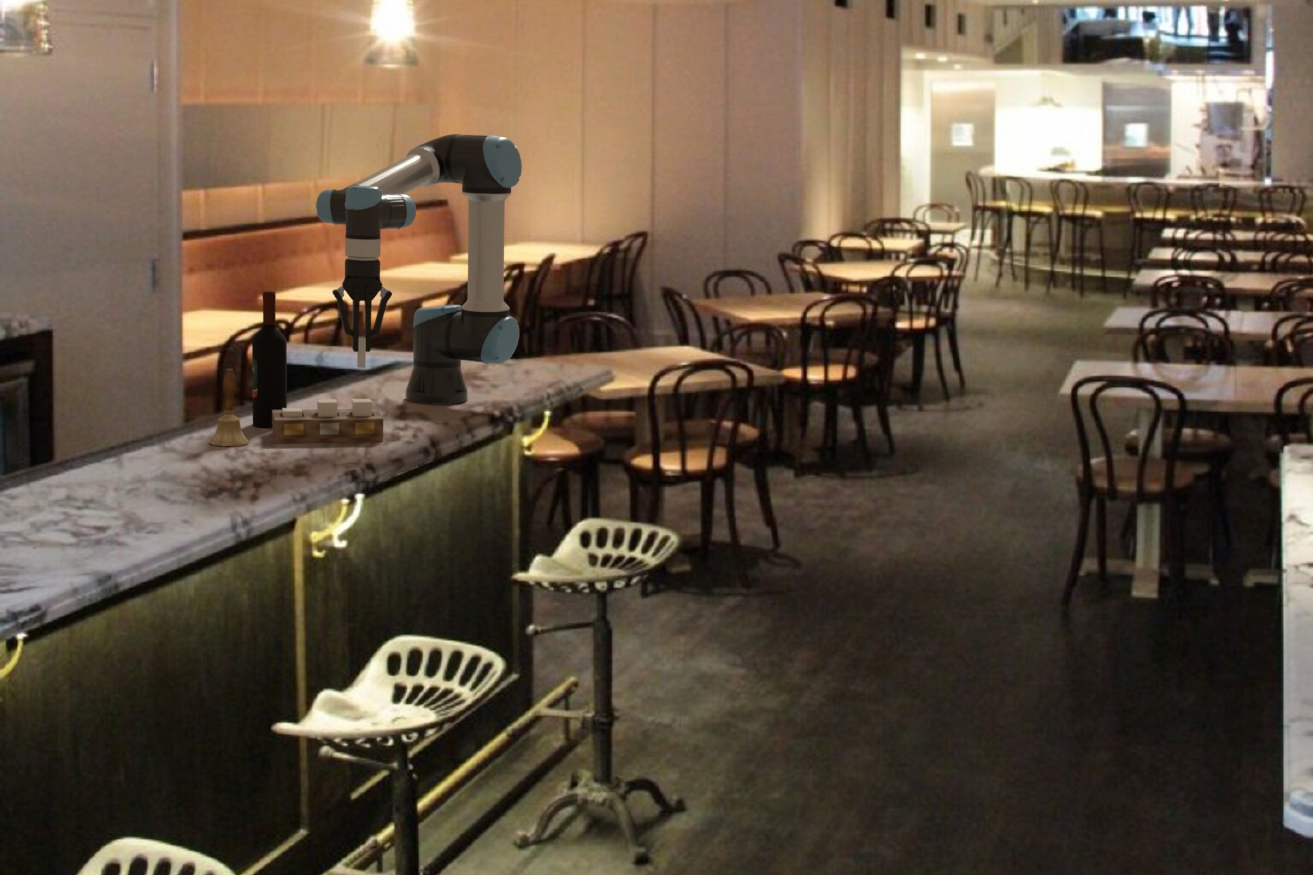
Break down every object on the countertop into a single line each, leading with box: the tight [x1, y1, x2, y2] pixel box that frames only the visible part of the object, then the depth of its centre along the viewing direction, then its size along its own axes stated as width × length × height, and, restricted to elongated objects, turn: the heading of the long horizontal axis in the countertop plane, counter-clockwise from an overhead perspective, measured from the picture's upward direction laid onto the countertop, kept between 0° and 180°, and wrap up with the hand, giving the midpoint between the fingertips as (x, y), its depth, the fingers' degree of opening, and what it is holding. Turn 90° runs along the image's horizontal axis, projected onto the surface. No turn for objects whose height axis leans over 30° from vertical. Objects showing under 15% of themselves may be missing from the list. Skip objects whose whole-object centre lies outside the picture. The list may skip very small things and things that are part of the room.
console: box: [271, 408, 384, 444], centre depth 394 cm, size 23×12×5 cm, turn 105°
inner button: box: [351, 398, 373, 416], centre depth 395 cm, size 4×4×5 cm
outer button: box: [282, 407, 303, 417], centre depth 392 cm, size 4×4×5 cm
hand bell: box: [208, 368, 250, 447], centre depth 383 cm, size 8×8×16 cm
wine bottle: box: [251, 290, 288, 429], centre depth 402 cm, size 8×8×30 cm
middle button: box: [316, 398, 338, 417], centre depth 393 cm, size 4×4×5 cm
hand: (361, 366), depth 393 cm, fingers closed
